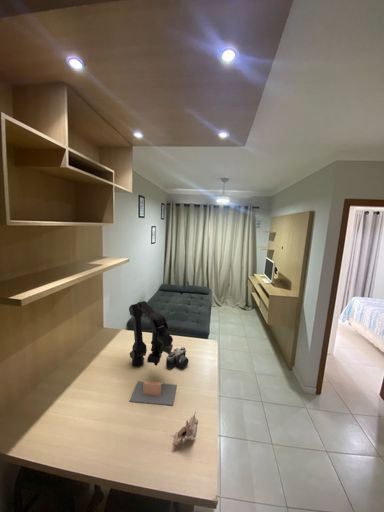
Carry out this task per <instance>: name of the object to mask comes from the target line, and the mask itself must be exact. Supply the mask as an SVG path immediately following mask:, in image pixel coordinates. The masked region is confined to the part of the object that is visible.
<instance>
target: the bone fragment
mask: <svg viewBox="0 0 384 512" xmlns="http://www.w3.org/2000/svg"><path fill="white" fill-rule="evenodd" d="M196 413H197V412H196V411H195V412H194V414H193V416H191V417H190V420H188V419H186V422H185V426H183V427H181V428H180V430H179V431H176V433H175V434H174V438H173V442H172V446H173V447H177V446H179V445H183V443H184V442H183V439H184V438H186V437H188V438H190V440H191V441H193V439H194V438H195V437H196V434H197V433H196V432H197V429H198V427H197V426H198V421H199V420H198V419H197V418H196Z"/></svg>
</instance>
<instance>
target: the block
mask: <svg viewBox="0 0 384 512" xmlns="http://www.w3.org/2000/svg"><path fill="white" fill-rule="evenodd" d="M143 382H144V385H143V394H147V395H158V396H160V395H161V384H163V383H162V382H161V381H149V380H144V381H143Z"/></svg>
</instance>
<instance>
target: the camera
mask: <svg viewBox="0 0 384 512" xmlns="http://www.w3.org/2000/svg"><path fill="white" fill-rule="evenodd" d="M186 352H187V350H186V348H185V346H181V348H178V347H176V348H174V350H173V351H171V352H170V354H168V355H166V359H165V360H166V363H165V366H166V369H167V370H171V369H173V368H174V367H180V368H182V369H185V368H187V367H188V365H189V358H188V357H187V356H186V354H187V353H186Z"/></svg>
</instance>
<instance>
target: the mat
mask: <svg viewBox="0 0 384 512" xmlns="http://www.w3.org/2000/svg"><path fill="white" fill-rule="evenodd" d="M143 385H144V381H137V382H136V385H135V387H134V388H133V391H132V393H131V396H130V398H129V403H138V404H148V405H149V404H150V405H159V406H168V407H169V406H172V407H174V402H175V396H176V392H177V388H178V387H177V384H171V383H170V384H169V383H162V384H161V395H160V396H158V395H147V394H143Z"/></svg>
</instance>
